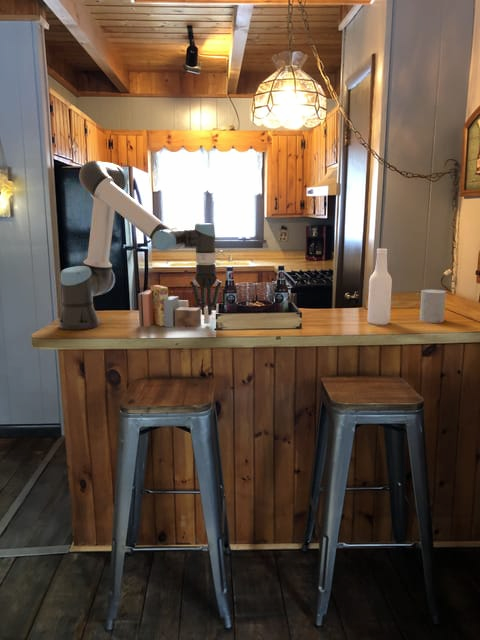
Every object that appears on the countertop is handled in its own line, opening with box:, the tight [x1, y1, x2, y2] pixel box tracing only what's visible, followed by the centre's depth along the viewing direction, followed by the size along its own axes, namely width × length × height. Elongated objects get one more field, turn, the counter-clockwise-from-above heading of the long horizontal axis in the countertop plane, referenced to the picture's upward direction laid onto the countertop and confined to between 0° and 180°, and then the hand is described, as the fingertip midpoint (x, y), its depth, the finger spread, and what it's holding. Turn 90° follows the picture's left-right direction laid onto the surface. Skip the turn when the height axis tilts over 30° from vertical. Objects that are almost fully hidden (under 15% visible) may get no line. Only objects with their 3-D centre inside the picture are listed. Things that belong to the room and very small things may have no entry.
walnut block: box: [174, 306, 202, 329], centre depth 206 cm, size 9×6×7 cm, turn 79°
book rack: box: [137, 289, 189, 327], centre depth 208 cm, size 17×12×13 cm
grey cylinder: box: [418, 288, 447, 324], centre depth 213 cm, size 10×10×12 cm
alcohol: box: [366, 247, 393, 326], centre depth 206 cm, size 9×9×30 cm
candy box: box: [149, 284, 169, 327], centre depth 207 cm, size 9×4×15 cm, turn 33°
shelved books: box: [142, 291, 180, 328], centre depth 208 cm, size 12×9×13 cm
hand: (207, 322), depth 205 cm, fingers closed
